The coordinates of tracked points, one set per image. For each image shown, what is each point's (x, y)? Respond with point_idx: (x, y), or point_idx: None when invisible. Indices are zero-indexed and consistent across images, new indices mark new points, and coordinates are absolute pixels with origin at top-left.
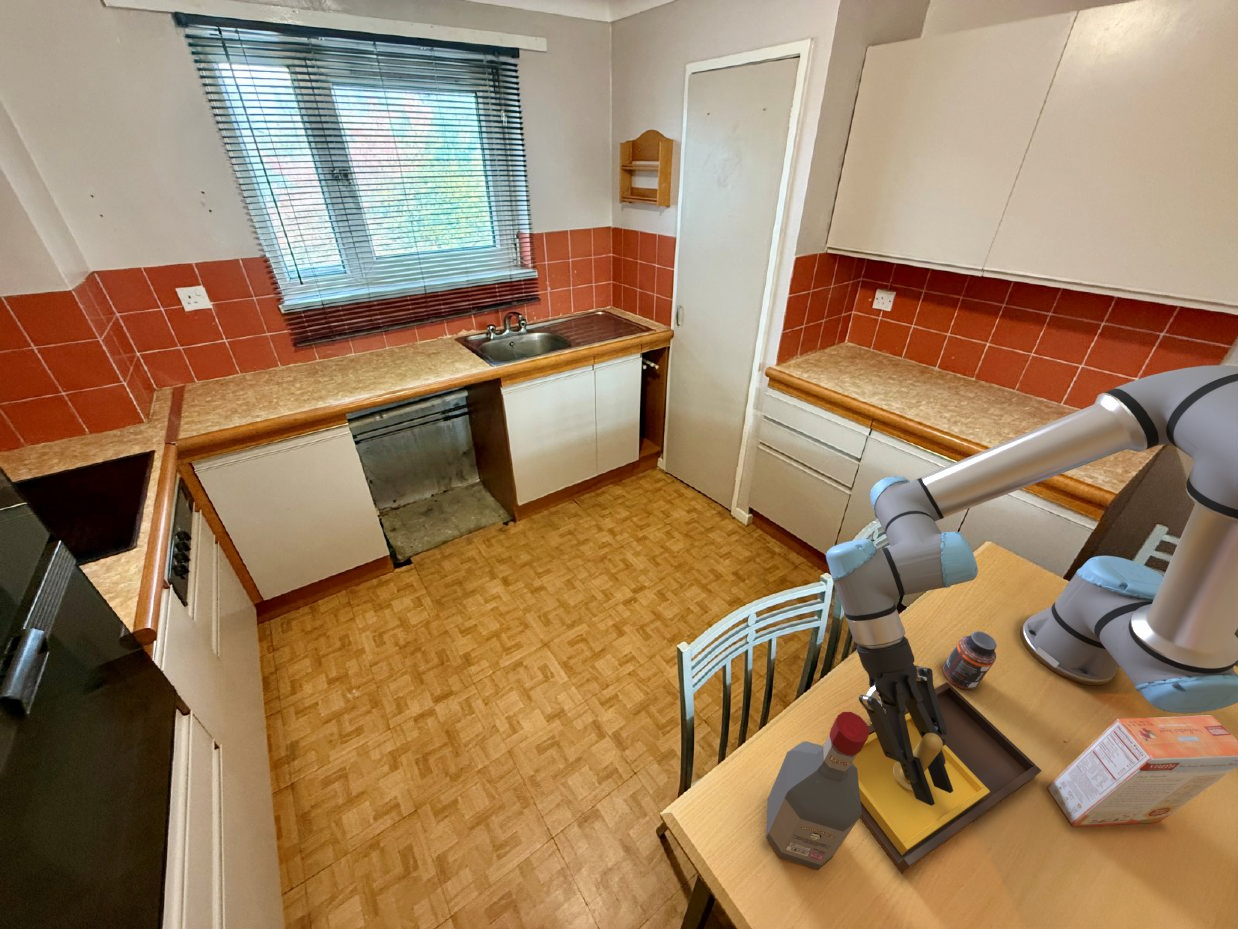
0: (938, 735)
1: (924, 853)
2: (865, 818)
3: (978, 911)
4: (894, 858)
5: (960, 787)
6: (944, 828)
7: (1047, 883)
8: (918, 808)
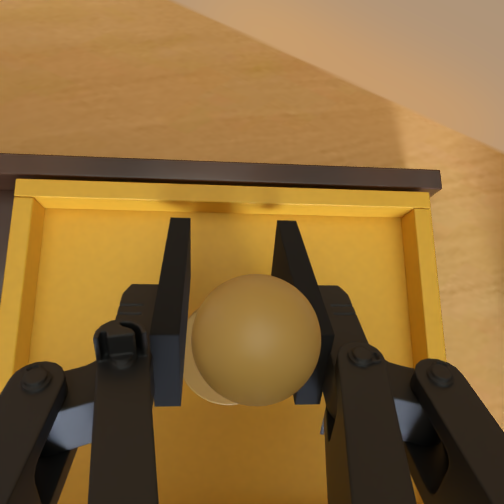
0: (98, 376)
1: (375, 170)
2: None
3: (295, 70)
4: None
5: (83, 245)
6: None
7: (85, 26)
8: None
